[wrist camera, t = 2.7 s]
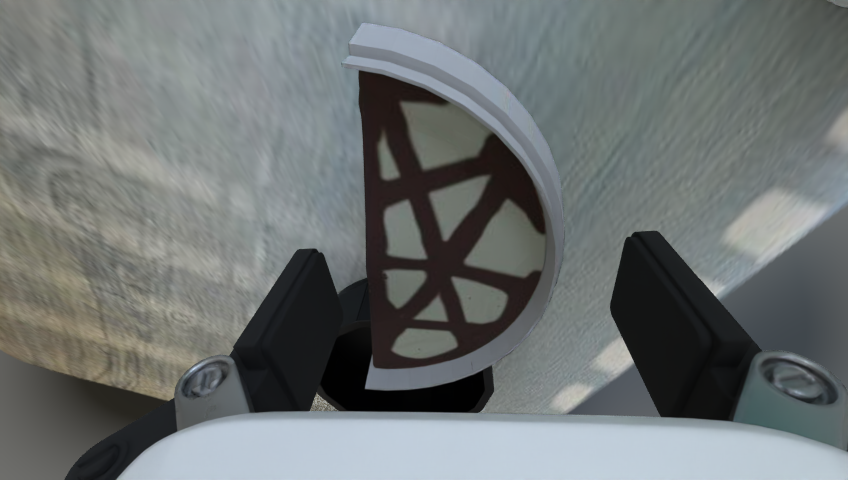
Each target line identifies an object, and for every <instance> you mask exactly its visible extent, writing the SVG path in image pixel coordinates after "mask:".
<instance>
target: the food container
mask: <svg viewBox="0 0 848 480" xmlns="http://www.w3.org/2000/svg"><path fill="white" fill-rule="evenodd" d="M341 66H342V67H344V68H350V69H356V70H359V88H360V89H359V107H360V113H361V119H362V132H363V155H364V184H365V215H366V271H367V281H368V291H369V303H370V317H371V337H372V357H371V362H370V367H369V371H368V376H367V381H366V386H365V389H372V390H411V389H418V388H426V387H433V386H437V385H441V384H445V383H450V382H454V381H456V380H459V379H462V378H465V377H468V376H470V375H473V374H475V373H477V372H479V371H481V370H483V369H485V368H487V367H489V366H491V365H493V364H495V363H496V362H498V361H499V360H501V359H502V358H503V357H505V356H506V355H508V354H509V353H511V352H512V351H513V350H514V349H515V348H516V347H517V346H518V345H519V344H520V343H521V342H523V341H524V340H525V339H526V338H527V337H528V336H529V334H530V333H531V332H532V330H533V329H534V328H535V326H536V325H537V324H538V322H539V321H540V320H541V318H542V316H543V314H544V312H545V310H546V308H547V306H548V304H549V302H550V300H551V298H552V294H553V290H554V287H555V285H556V283H557V280H558V276H559V272H560V269H561V265H562V261H563V252H564V235H565V227H564V205H563V197H562V191H561V184H560V177H559V173H558V170H557V167H556V165H555V162H554V159H553V156H552V153H551V151H550V148H549V145H548V143H547V142H546V140H545V138H544V136H543V135H542V133H541V131H540V130H539V128H538V126H537V125H536V123H535V121H534V119H533V118H532V116H531V115H530V114H529V112H528V111H527V110H526V109H525V108H524V107H523V105H522V104H521V103H520V102H519V101H518V100H517V98H516V97H515V96H514V95H513V94H512V93H511V92H510V90H509V89H508V88H507V87H506V86H505V85H503V84H502V83H501V82H500V81H498V80H497V79H496V78H495V77H493V76H492V75H491V74H490V73H489V72H487V71H486V70H485V69H484V68H482V67H481V66H480V65H479V64H477V63H476V62H474V61H472V60H471V59H469V58H467V57H465V56H464V55H462V54H460V53H458V52H456V51H455V50H453V49H451V48H449V47H447V46H446V45H444V44H442V43H440V42H437V41H434V40H432V39H429V38H426V37H423V36H420V35H417V34H414V33H412V32H409V31H406V30H403V29H400V28H394V27H388V26H382V25H376V24H370V23H364V22H363V23H362V24H361V26H360V27H359V29H358V30H357V32H356V33H355V34H354V36H353V37H352V39H351V40H350V42H349V56H348V57H347V58H346V59H345V60H344V61H342V62H341Z"/></svg>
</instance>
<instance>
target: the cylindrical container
mask: <svg viewBox="0 0 848 480" xmlns="http://www.w3.org/2000/svg"><path fill="white" fill-rule="evenodd" d="M827 1H829V2H831V3H833V4H836V5H838V6H840V7H847V8H848V0H827Z"/></svg>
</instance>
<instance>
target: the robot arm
mask: <svg viewBox="0 0 848 480" xmlns="http://www.w3.org/2000/svg"><path fill="white" fill-rule="evenodd" d="M610 311H611V315H612V317H613V319H614V321H615V323H616V325H617V327H618V330H619V332H620V334H621V336H622V338H623V340H624V342H625V344H626V346H627V348H628V350H629V352H630V354H631V356H632V359H633V361H634V363H635V365H636V367H637V369H638V371H639V373H640V375H641V377H642V379H643V381H644V383H645V386H646V388H647V390H648V392H649V394H650V396H651V398H652V400H653V402H654V404H655V406H656V408H657V410H658V412H659V414H660V416H661V417H642V416H608V415H607V416H606V415H559V414H507V413H442V412H354V411H310V409H311V406H312V403H313V401H314V398H315V395H316V393H317V390H318V387H319V384H320V382H321V379H322V376H323V374H324V371H325V368H326V365H327V363H328V360H329V357H330V355H331V352H332V349H333V346H334V344H335V341H336V338H337V336H338V333H339V330H340V327H341V325H342V322H343V309H342V307H341V304H340V301H339V298H338V295H337V292H336V289H335V286H334V283H333V280H332V277H331V275H330V272H329V269H328V266H327V263H326V260H325V257H324V255H323V253H319V252H318V250H317V249H315V248H314V249H299V250H297V251H296V252H295V254H294V255H293V257H292V258H291V260H290V261H289V263H288V264H287V266H286V267H285V269H284V270H283V272H282V273H281V275H280V276H279V278H278V279H277V281H276V283H275V284H274V286H273V287H272V289H271V290H270V292H269V293H268V295H267V296H266V298H265V299H264V301H263V302H262V304H261V305H260V307H259V308H258V310H257V311H256V313H255V314H254V316H253V317H252V319H251V321H250V322H249V324H248V325H247V327H246V328H245V330H244V331H243V333H242V334H241V336H240V337H239V339H238V340H237V342H236V343H235V345H234V346H233V348H234V349H233V351H232V352H231V354H230V355H229V356H227V355H215V356H211V357H208V358H206V359H203V360H201V361H200V362H198V363H196V364H195V365H193V366H192V367H191V368H190V369H189V370H187V371H186V372H185V373H184V374H183V376H182V377H181V378H180V379H179V381H178V383H177V385H176V387H175V393H174V398H173V399H172V400H170V401H168V402H167V403H165V404H163V405H161V406H160V407H158V408H156V409H155V410H153V411H151V412H149V413H148V414H146V415H144V416H143V417H141V418H139V419H138V420H136V421H134V422H132V423H131V424H129V425H127V426H126V427H124V428H123V429H121V430H119V431H117V432H116V433H114V434H112V435H110V436H109V437H107V438H105V439H104V440H102V441H100V442H99V443H97V444H96V445H95V446H93V447H92V448H90V449H89V450H88V451H87V452H86V453H85V454H84V455H82V457H80V458H79V459H78V461H77V462H76V463H75V464H74V465H73V467H72V468H71V469H70V471H69V473H68V474H67V476H66V478H65V480H848V390H847V389H846V387H845V386H844V385H843V383H842V382H841V381H840V380H839V379H838V378H837V377H836V376H835V375H833V374H832V373H831V372H830V371H829V370H827V369H825V368H824V367H822V366H820V365H819V364H818V363H816V362H814V361H812V360H809V359H807V358H805V357H803V356H800V355H797V354H793V353H790V352H784V351H778V350H769V351H762V350H761V349H760V348H759V347H758V345H757V344H756V343H755V342H754V341H753V340H752V339H751V337H750V336H749V335H748V334H747V333H746V332H745V331H744V329H743V328H742V327H741V326H740V325H739V324H738V322H737V321H736V320H735V319H734V318H733V317H732V315H731V314H730V313H729V312H728V311H727V310H726V309H725V307H724V306H723V305H722V304H721V303H720V301H719V300H718V299H717V298H716V297H715V296H714V294H713V293H712V292H711V291H710V290H709V289H708V288H707V286H706V285H705V284H704V283H703V282H702V281H701V280H700V279H699V278H698V277H697V275H696V274H695V273H694V272H693V271H692V270H691V268H690V267H689V266H688V265H687V264H686V263H685V262H684V260H683V259H682V258H681V257H680V256H679V255H678V253H677V252H676V251H675V250H674V249H673V248H672V246H671V245H670V244H669V243H668V242H667V241H666V240H665V238H664V237H663V236H662V235H661V234H660V233H659V232H658V231H641V232H634V233H633V234H632V236H631V237H627V238H626V240H625V243H624V247H623V251H622V256H621V260H620V264H619V269H618V273H617V277H616V281H615V286H614V290H613V294H612V299H611V303H610Z"/></svg>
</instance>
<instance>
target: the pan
mask: <svg viewBox="0 0 848 480" xmlns="http://www.w3.org/2000/svg"><path fill="white" fill-rule="evenodd" d="M338 298H339V301H340V304H341V307H342V309H343V322H342V325H341V327H340V330H339V333H338V336H337V338H336V341H335V344H334V346H333V349H332V352H331V355H330V357H329V360H328V363H327V365H326V368H325V371H324V374H323V376H322V379H321V382H320V384H319V387H318V390H317V393H318V395H319V396H320V397H322V398H323V399H324V400H325V401H327V402H328V403H329V404H331V405H332V406H333V407H335V408H336V409H337V410H338V411H354V412H442V413H478V412H480V411H482V410H483V408H484V407H485V405H486V403H487V402H488V400H489V399H490V397H491V396H492V394H493V392H494V382H493V371H492V365H491V366H489V367H487V368H485V369H483V370H481V371H479V372H477V373H475V374H473V375H470V376H468V377H465V378H462V379H459V380H456V381H454V382H450V383H445V384H441V385H437V386H433V387H426V388H418V389H411V390H372V389H365V386H366V381H367V376H368V371H369V367H370V362H371V357H372V337H371V317H370V303H369V291H368V281H367V278H366V279H363V280H361V281H358V282H356V283H354V284H352V285H350V286H348V287H347V288H345V289H344V290H343V291H341V292H340V293H339V294H338Z"/></svg>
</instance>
